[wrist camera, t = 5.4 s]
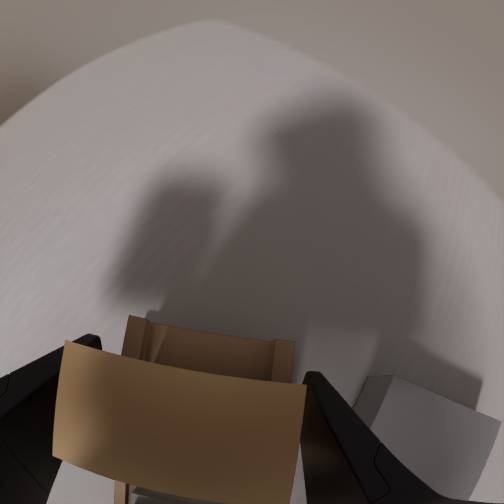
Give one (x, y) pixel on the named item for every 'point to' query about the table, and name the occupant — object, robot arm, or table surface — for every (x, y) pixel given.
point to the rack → (202, 360)
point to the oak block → (178, 428)
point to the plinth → (429, 433)
